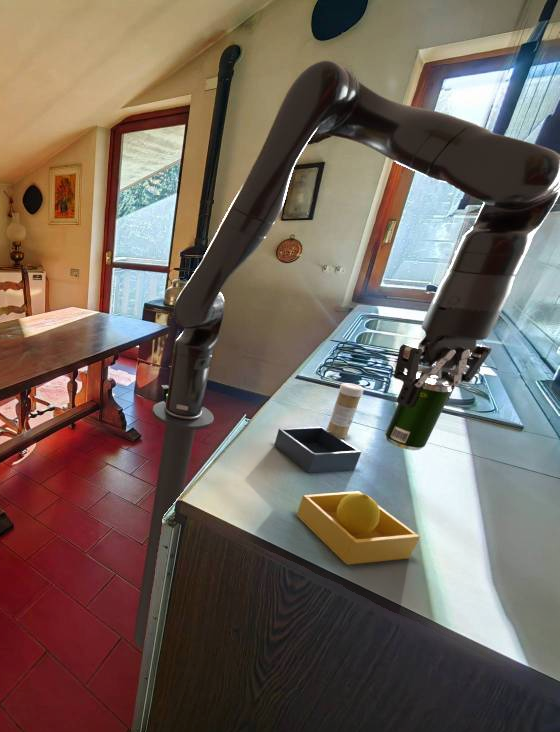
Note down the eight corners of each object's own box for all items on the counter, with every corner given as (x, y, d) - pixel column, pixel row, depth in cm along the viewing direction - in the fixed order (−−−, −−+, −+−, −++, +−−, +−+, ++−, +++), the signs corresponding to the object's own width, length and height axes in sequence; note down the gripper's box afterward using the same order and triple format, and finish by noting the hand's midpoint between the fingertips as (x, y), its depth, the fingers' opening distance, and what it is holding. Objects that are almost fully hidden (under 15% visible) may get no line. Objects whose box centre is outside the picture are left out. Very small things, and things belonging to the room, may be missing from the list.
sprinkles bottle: (334, 428, 102) (350, 381, 97) (351, 437, 98) (369, 388, 93) (320, 431, 100) (336, 383, 95) (337, 440, 96) (355, 390, 91)
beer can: (417, 454, 64) (449, 388, 59) (378, 440, 68) (405, 377, 64) (427, 445, 67) (459, 381, 62) (389, 431, 71) (416, 371, 66)
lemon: (345, 518, 70) (360, 481, 67) (378, 540, 65) (395, 502, 62) (322, 524, 68) (336, 487, 65) (354, 548, 63) (370, 509, 60)
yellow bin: (296, 515, 71) (302, 495, 69) (350, 510, 73) (358, 490, 71) (346, 564, 61) (356, 542, 59) (409, 558, 62) (420, 536, 61)
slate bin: (273, 445, 94) (278, 428, 92) (316, 443, 95) (321, 426, 93) (308, 473, 83) (314, 454, 82) (354, 469, 85) (361, 451, 83)
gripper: (479, 298, 62) (434, 394, 69) (400, 298, 61) (362, 396, 67) (538, 308, 55) (482, 413, 62) (451, 309, 54) (403, 416, 60)
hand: (420, 404), depth 65 cm, fingers closed on beer can, 5 cm apart
